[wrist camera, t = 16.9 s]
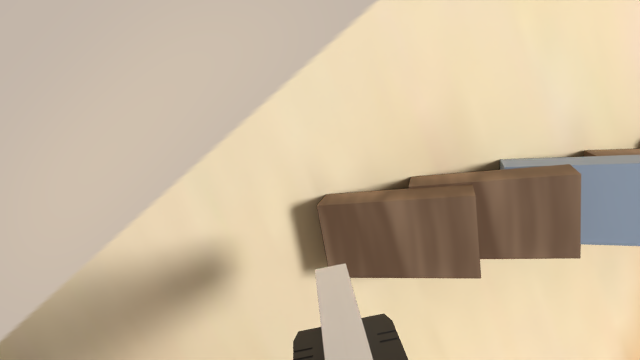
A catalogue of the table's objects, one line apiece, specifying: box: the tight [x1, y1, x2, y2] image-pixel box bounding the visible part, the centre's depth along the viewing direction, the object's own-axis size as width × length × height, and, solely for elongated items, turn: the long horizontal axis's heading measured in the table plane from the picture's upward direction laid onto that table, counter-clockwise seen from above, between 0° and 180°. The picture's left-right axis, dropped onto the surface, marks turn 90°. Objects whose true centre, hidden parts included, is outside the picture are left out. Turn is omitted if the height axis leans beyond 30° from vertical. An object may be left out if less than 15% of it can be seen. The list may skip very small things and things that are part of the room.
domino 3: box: [500, 155, 640, 246], centre depth 23 cm, size 2×5×9 cm
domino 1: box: [317, 184, 481, 278], centre depth 23 cm, size 2×5×9 cm
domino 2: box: [409, 164, 581, 259], centre depth 23 cm, size 2×5×9 cm
